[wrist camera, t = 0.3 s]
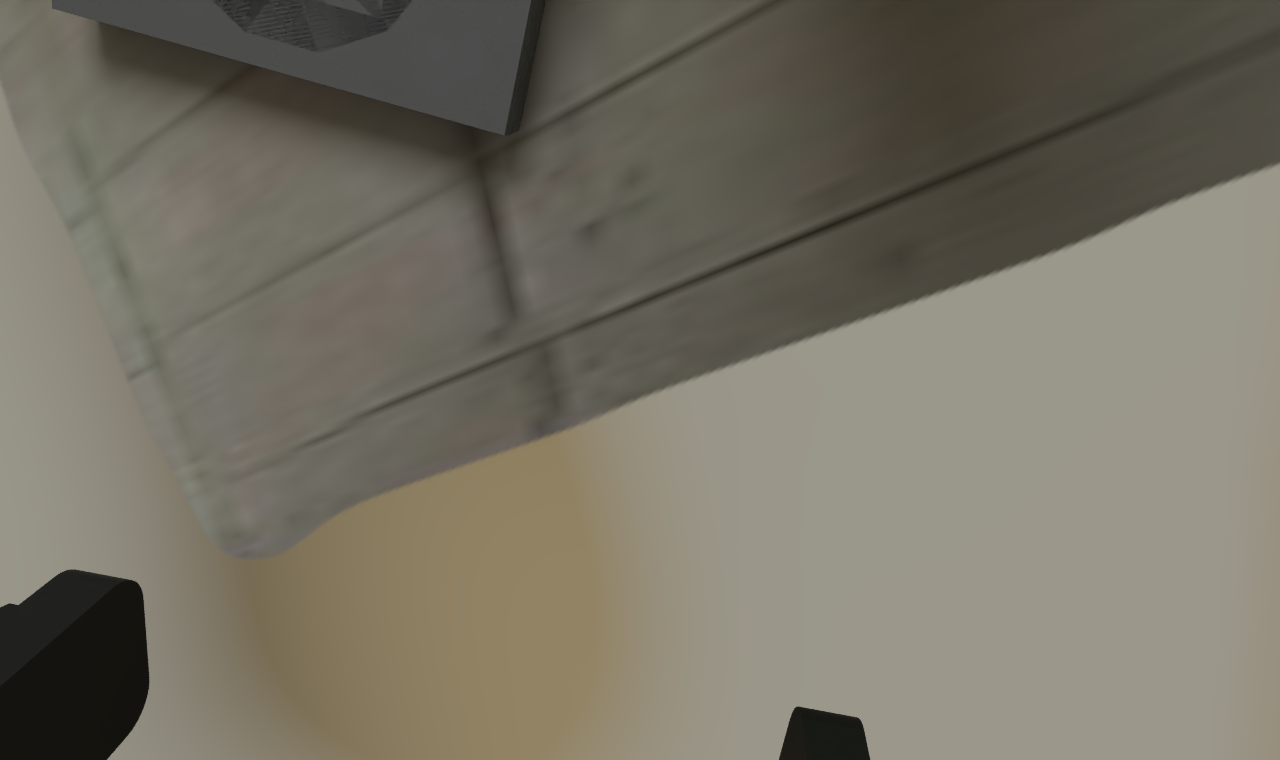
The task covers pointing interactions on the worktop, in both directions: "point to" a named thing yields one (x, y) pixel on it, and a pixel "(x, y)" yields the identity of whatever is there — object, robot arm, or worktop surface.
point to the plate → (362, 46)
